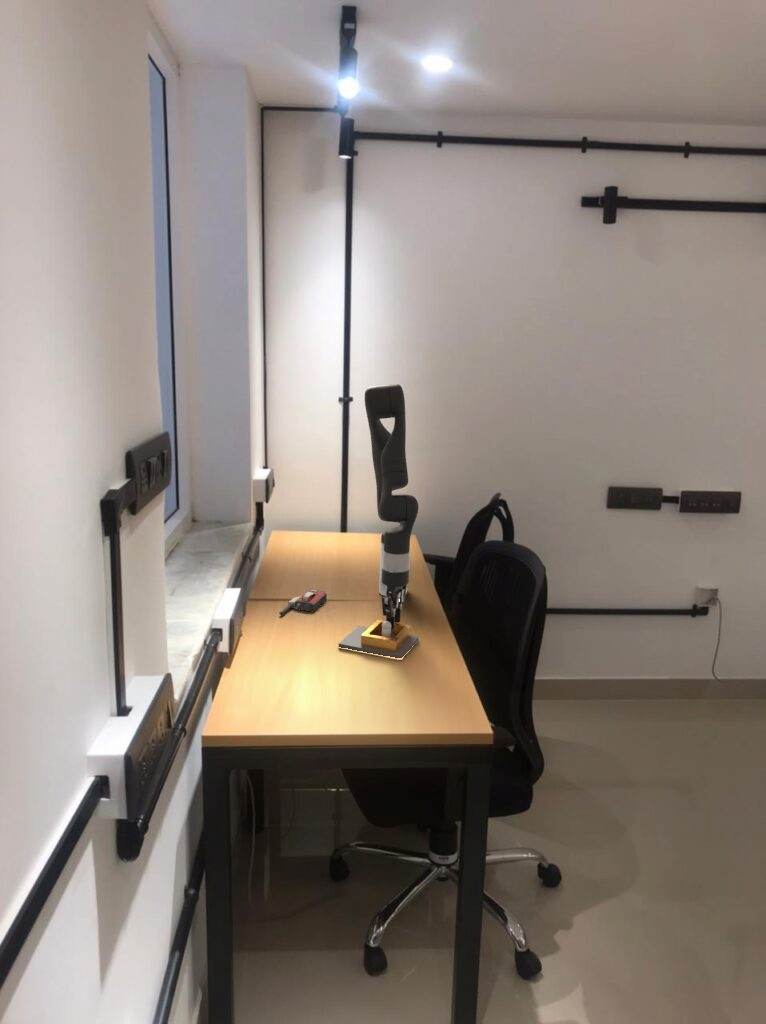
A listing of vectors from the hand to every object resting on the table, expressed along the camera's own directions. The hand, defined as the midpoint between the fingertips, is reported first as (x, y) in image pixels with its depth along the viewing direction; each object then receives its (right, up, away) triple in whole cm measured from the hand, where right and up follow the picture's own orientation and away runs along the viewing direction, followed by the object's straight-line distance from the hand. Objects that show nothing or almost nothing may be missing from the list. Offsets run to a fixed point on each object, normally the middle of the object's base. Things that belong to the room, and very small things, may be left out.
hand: (393, 625), depth 213 cm
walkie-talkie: (-27, +2, +22) cm, 35 cm away
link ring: (-2, -4, -4) cm, 6 cm away
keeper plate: (-4, -5, -3) cm, 7 cm away
